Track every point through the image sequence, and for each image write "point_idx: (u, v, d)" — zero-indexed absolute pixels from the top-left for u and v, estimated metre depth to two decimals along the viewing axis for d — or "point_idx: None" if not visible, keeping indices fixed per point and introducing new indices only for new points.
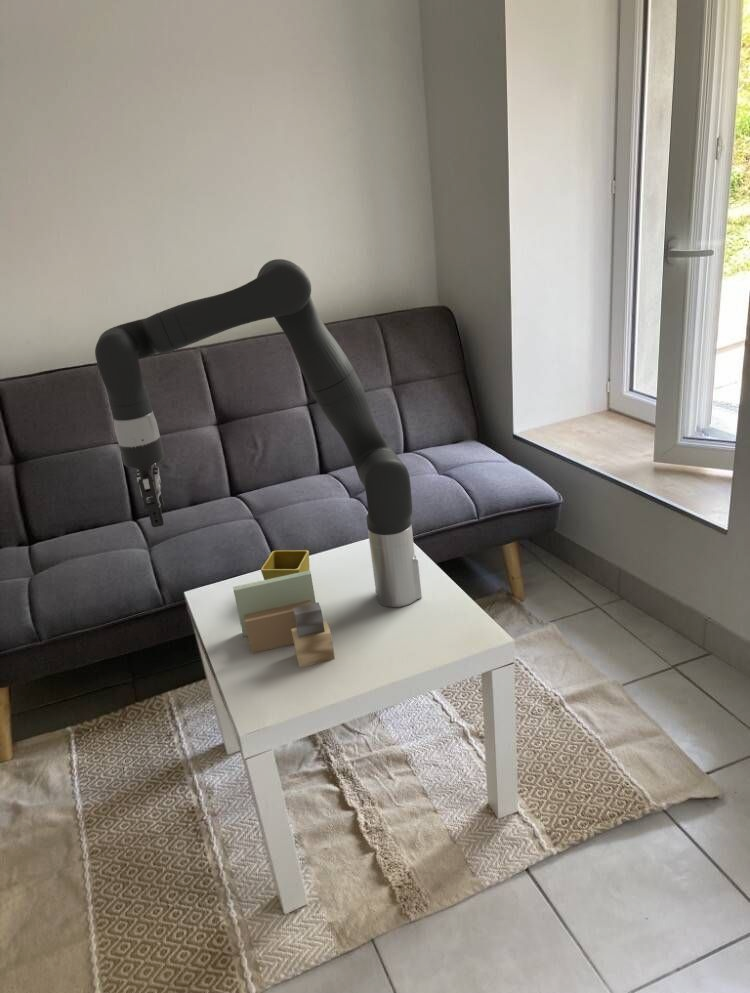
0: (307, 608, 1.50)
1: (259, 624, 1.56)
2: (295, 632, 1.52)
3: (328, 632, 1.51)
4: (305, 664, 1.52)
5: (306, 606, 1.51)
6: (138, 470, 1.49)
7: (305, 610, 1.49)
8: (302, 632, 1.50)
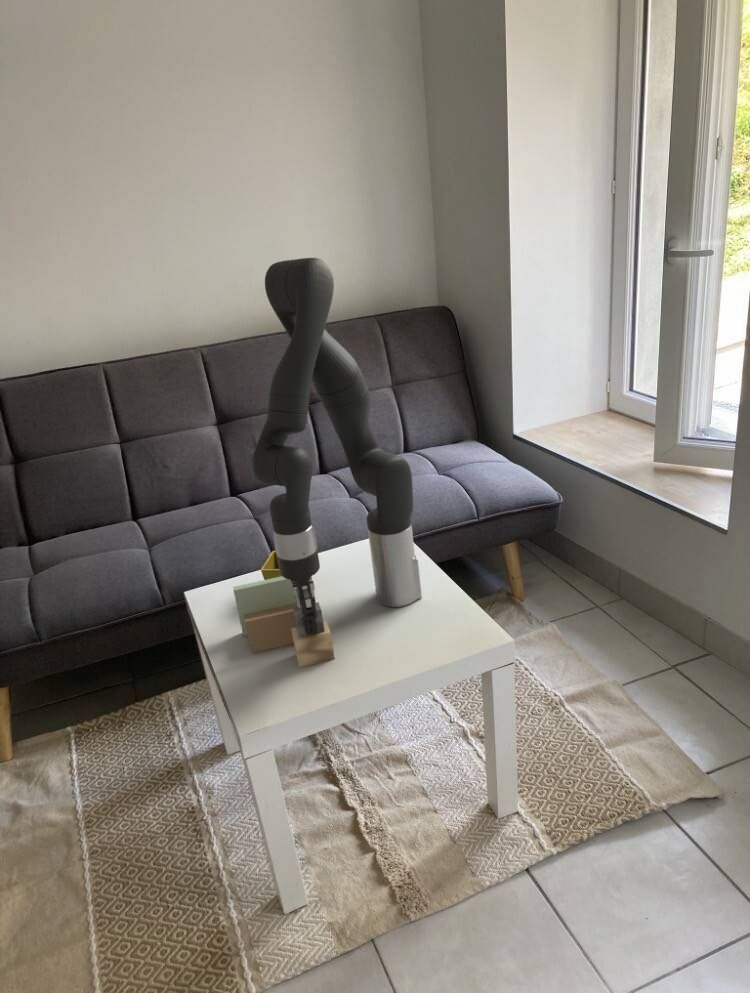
0: None
1: (259, 624, 1.56)
2: (295, 632, 1.52)
3: (328, 632, 1.51)
4: (305, 664, 1.52)
5: None
6: None
7: None
8: (302, 632, 1.50)
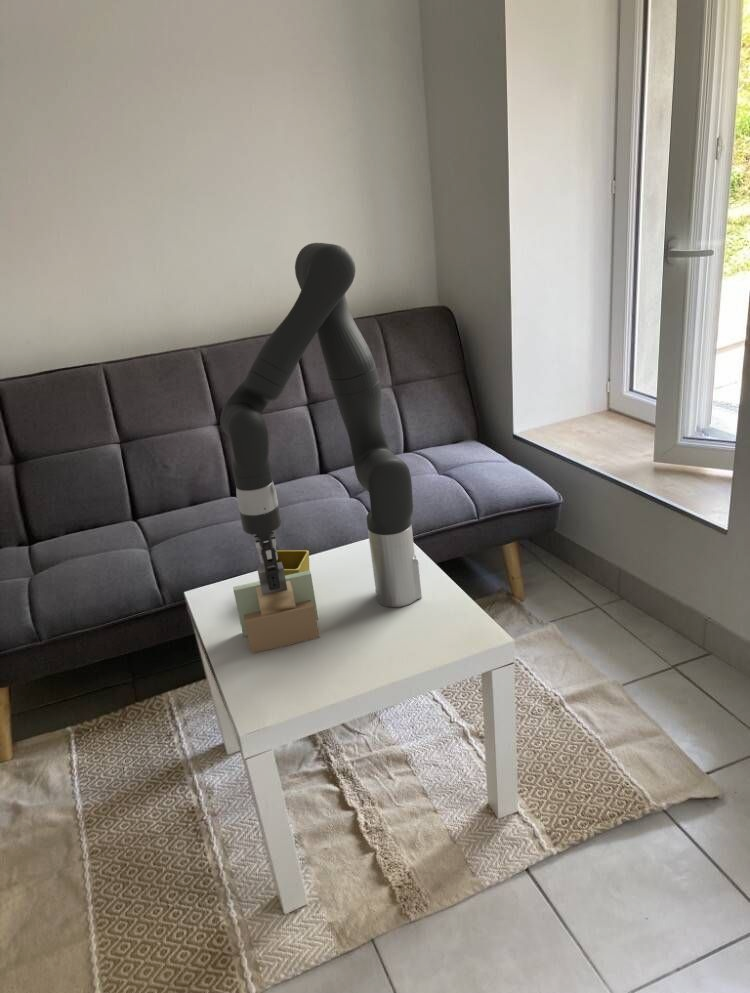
0: None
1: (259, 624, 1.56)
2: (259, 590, 1.58)
3: (290, 590, 1.57)
4: None
5: None
6: (255, 534, 1.54)
7: None
8: (266, 590, 1.56)
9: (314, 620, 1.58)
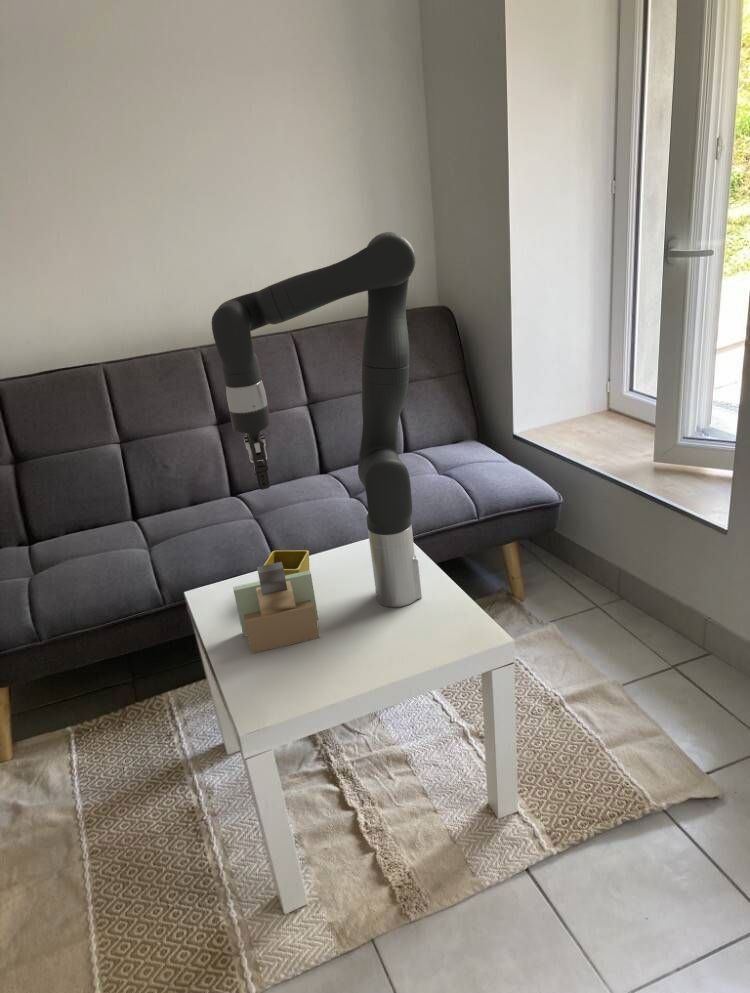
0: (270, 567, 1.56)
1: (259, 624, 1.56)
2: (259, 590, 1.58)
3: (290, 590, 1.57)
4: None
5: (269, 565, 1.57)
6: (245, 436, 1.58)
7: (268, 569, 1.55)
8: (266, 590, 1.56)
9: (314, 620, 1.58)
